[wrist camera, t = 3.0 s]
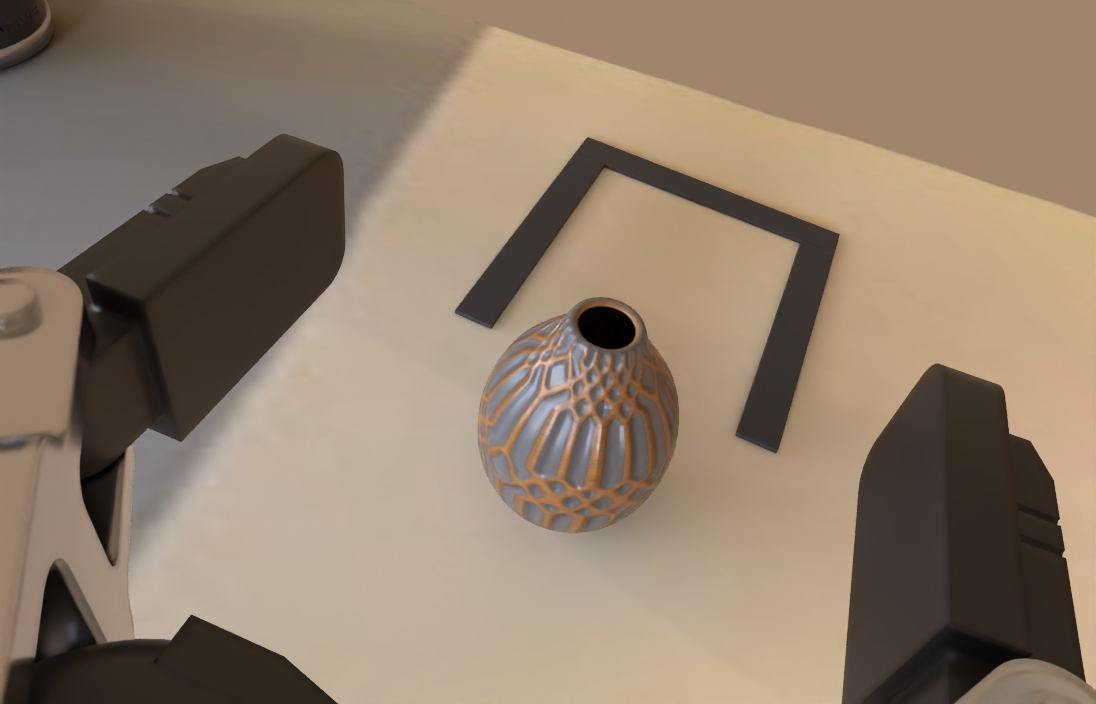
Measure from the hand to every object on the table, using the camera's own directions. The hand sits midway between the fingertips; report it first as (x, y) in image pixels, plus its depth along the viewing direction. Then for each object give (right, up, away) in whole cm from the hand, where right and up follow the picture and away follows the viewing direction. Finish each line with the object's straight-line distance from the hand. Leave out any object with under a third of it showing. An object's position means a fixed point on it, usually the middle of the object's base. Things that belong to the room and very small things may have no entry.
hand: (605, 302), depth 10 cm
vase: (0, -6, +20) cm, 21 cm away
